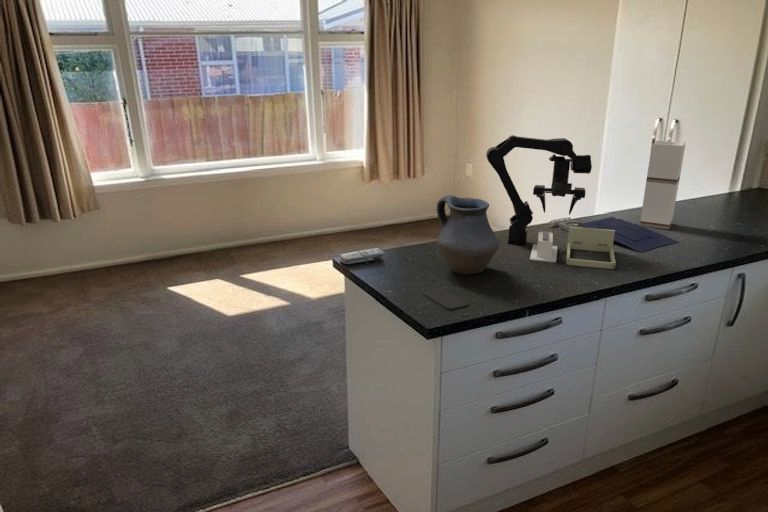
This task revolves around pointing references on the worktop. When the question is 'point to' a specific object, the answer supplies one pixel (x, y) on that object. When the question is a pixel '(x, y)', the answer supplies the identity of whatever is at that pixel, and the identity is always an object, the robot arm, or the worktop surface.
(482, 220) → the pitcher
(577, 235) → the equipment case
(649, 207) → the tall banded white pillar
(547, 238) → the module
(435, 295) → the phone
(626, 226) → the navy flat panel
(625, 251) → the worktop surface
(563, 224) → the graphics card
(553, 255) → the mat
